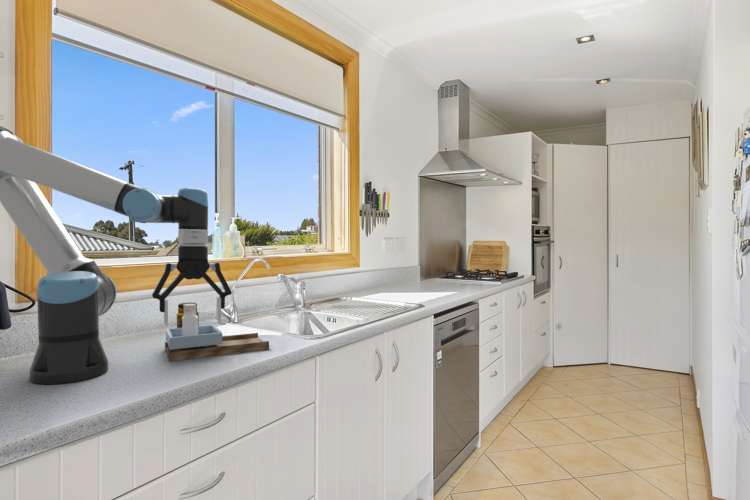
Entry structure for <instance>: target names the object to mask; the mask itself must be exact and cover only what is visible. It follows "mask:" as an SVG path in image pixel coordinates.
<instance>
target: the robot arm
mask: <svg viewBox="0 0 750 500" xmlns="http://www.w3.org/2000/svg"><path fill="white" fill-rule="evenodd" d="M37 184H38V185H40V186H43V187H46V188H47V189H51V190H54V191H57V192H60V193H62V194H65V195H68V196H71V197H74V198H77V199H79V200H81V201H85V202H87V203H90V204H93V205H95V206H97V207H98V206H99V207H101V208H104V209H106V210H110V211H112V212H115V213H117V214H120V215H123V216H126V217H128V219H129V221H130V222H132V223H140V224H149V223H151V224H178V225H177V226H178V230H177V231H178V234H177V235H178V237H177V238H178V239H177V240H178V244H179V245H180V246H179V247H178V249H177V250H178V252H177V254H178V257H177V258H178V260H177V264H175V263H170V262H166V263H165V266H164V267H165V268H164V272H163V274H162V276H161V278H160V279H159V281H158V282H157V285H156V286H155V288H154V291H152V294H151V296H152V298H153V299H156V300H159V312H160V313H163V324H164V325H165V326H169V300H168V299H167V298H168V296H169V295H170V294H171V293H172V292H173V290H175V288H176V287H178V285H179V284H180V283H181V282H182V281H183V280H184V279H186V280H193V279H194V280H200V279H203V280H204V281H205V282H207V284H208V285H209V286H210V287H211V288H212V289H213V290H214V292H215V293H216V294H217V295H218V296H216V320H217V322H222V321H221V320H222V309H225V307H226V297H227V296H230V295H232V293H233V292H232V290H231V287H230V286H229V284H228V283H227V280H226V278H225V277H224V273H222V271H221V264H220V262H216V261H215V262H212V263H209V261H208V260H209V254H208V253H209V248H208V246H207V244H208V243H209V242H208V240H209V239H208V237H209V235H208V234H209V233H208V231H209V230H208V228H209V227H208V226H209V202H208V200H209V198H208V193H207V191H206V190H204V189H203V188H196V187H195V188H193V187H188V188H187V187H186V188H185V187H183V188H179V189H178V192H177V195H176V194H175V195H169V194H168V195H166V194H165V195H164V194H156V193H155V192H154V191H152V190H149V189H147V188H142V187H140V186H137V185H135V184H133V183H129V182H127V181H124V180H121V179H119V178H116V177H114V176H111V175H108V174H106V173H104V172H101V171H98V170H95V169H93V168H90V167H87V166H85V165H83V164H79V163H77V162H74V161H72V160H69V159H67V158H64V157H61V156H59V155H56V154H54V153H51V152H48V151H46V150H44V149H40V148H39V147H36V146H33V145H31V144H27V143H25V142H24V141H22V140H21V138H19V137H18V135H16V134H15V133H14V132H12V131H11V130H9V129H8V128H5V127H4V126H1V125H0V204H1V205H2V207H3V208H4V210H5V211H6V212H7V214H8V216H9V217H10V219H11V220H12V221H13V223H14V224H15V225H14V226H16V227H17V229H18V230H19V232H20V234H21V235H22V237H23V238H24V239H25V241H26V242H27V244H28V245H29V247H30V248H31V250H32V251H33V253H34V254H35V256H36V257H37V259H38V260H39V261H40V263H41V264H42V266H43V267H44V269H45V270H46V272H47V273H48V274H46V275H44V276H42V277H41V278H40V279H38V283H37V289H36V297H37V298H36V299H37V328H38V346H37V348H36V351H35V355H34V357H33V360H32V362H31V366H30V368H29V381H30V382H32V383H33V384H39V385H57V384H58V385H59V384H68V383H74V382H80V381H84V380H88V379H92V378H95V377H98V376H101V375H103V374H105V373H106V372H108V370H109V359H108V357H107V354H106V352H105V350H104V348H103V344H102V342H101V339H100V330H99V329H100V322H99V321H100V317H101V316H102V315H104V314H105V313H107V312H108V311H109V310H110V309H111V308H112V306H113V305H114V303H115V301H116V299H117V287H116V284H115V282H114V281H113V280H112V278H110V276H108V275H107V274H105V273H103V272H102V270H101V269H100V267H99V265H98V264H97V263H96V262H95V260H94V259H91V258H87V257H86V256H84V255H83V253H82V252H81V250H80V249H79V247H78V246H77V244H76V243H75V241H74V240H73V238H72V237H71V235H70V234H69V232H68V231H67V229H66V228H65V226H64V224H63V223H62V221H61V219H60V218H59V216H58V215H57V214H56V211H54V209H53V208H52V206H51V204H50V203H49V202H48V200H47V198H46V197H45V195H44V194H43V192H42V191H41V189H40V188H39V186H38V185H37ZM210 268H211V270H212V271H214V273H215V274H216V277H217V278H218V280H219V282H220V285H221V286H222V288H223V290H222V289H221V288H220V287H219V286H218V284H216V283H215V282H214V280H212V278H211V277H210V276H209V275H208V274H207V272H208V270H209V269H210ZM176 269H177V271H178V272H179V274H177V276H176V277H175V279H173V281H172V282H171V283H170V284H169V285H168V286H167V287H166V288H165V290H164V291H163V292H162V293H161V291H162V289H163V287H164V286H165V284H166V282H167V280H168V278H169V276H170V274H171V272H173V271H174V270H176ZM160 293H161V294H160Z"/></svg>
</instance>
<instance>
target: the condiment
mask: <svg viewBox="0 0 750 500" xmlns="http://www.w3.org/2000/svg"><path fill="white" fill-rule="evenodd" d="M185 304H196V315H197V316H198V326H200V325H199V322H200V321H199V318H200V317H199V312H198V307H197V306H198V304H197V303H196V302H182V303H179V304H178V305H177V307H178V308H177V314H176V328H182V317H183V316H184V305H185Z"/></svg>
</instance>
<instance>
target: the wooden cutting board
mask: <svg viewBox="0 0 750 500" xmlns="http://www.w3.org/2000/svg"><path fill="white" fill-rule="evenodd" d="M181 350H182V351H174V349H171V350H170V349H169V346H168V344H167V341H164V351H165V353H166V357H167V359H168V362H173V361H174V362H175V361H183V360H184V361H185V360H191V359H192V360H193V359H199V358H207V357H215V356H225V355H226V356H227V355H231V354H232V355H233V354H241V353H250V352H257V351H258V352H259V351H265V350H267V351H268V350H270V340H266V341H265V340H263V339H261V338H260V337H259V332H254V333H253V332H252V333H244V334H243V333H242V334H233V335H222V344H217V347H210V345H208V346H199V347H190V348H181Z"/></svg>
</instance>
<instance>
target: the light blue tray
mask: <svg viewBox="0 0 750 500" xmlns="http://www.w3.org/2000/svg"><path fill="white" fill-rule="evenodd" d="M222 336H223V332H222V331H221V330H220V329H219V328H218V326H216V325H215V324H209V325H208V324H207V325H199V326H198V335H190V336H182V328H177V327H174V328H165V342H167V344H168V346H169V349H170V350H171V349H174V351H182V350H181V348H190V347H199V346H208V345H210V347H217V344H222Z"/></svg>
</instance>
